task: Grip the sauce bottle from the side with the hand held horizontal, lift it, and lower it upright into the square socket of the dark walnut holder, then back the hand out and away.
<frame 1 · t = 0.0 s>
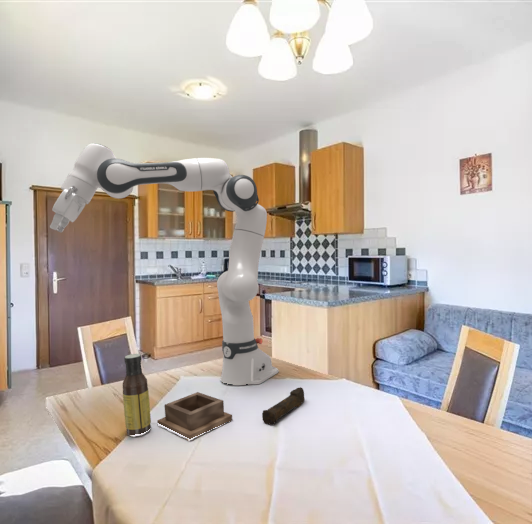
hand: (55, 230, 113), 54 cm above the table, tool tilted 30°, fingers open, 8 cm apart
socket holder: (195, 423, 99), on the table
sauce bottle: (138, 432, 95), on the table
hand tool: (285, 412, 104), on the table
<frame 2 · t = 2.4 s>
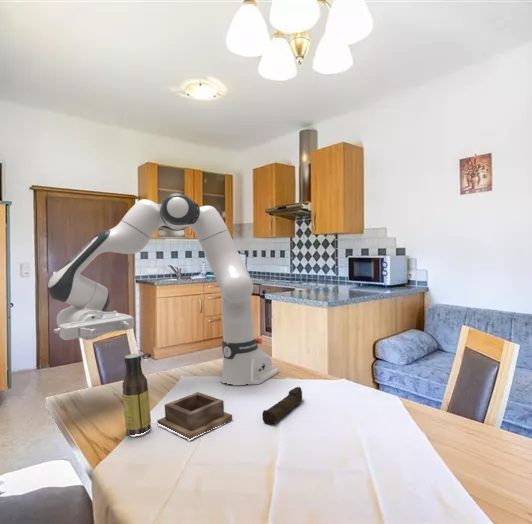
hand: (110, 329, 103), 25 cm above the table, tool horizontal, fingers open, 8 cm apart
nothing on the table moved.
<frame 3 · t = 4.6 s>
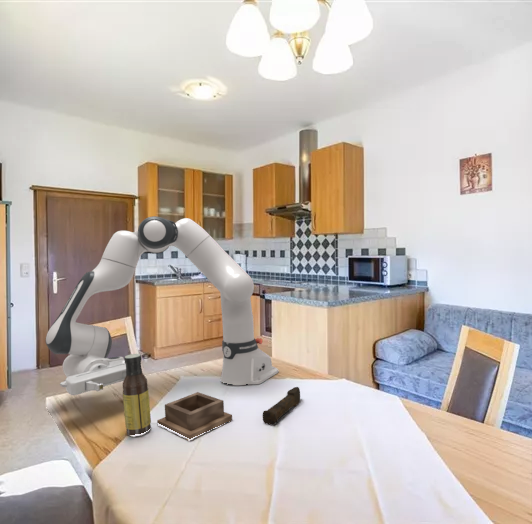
hand: (117, 382, 102), 11 cm above the table, tool horizontal, fingers open, 8 cm apart
nothing on the table moved.
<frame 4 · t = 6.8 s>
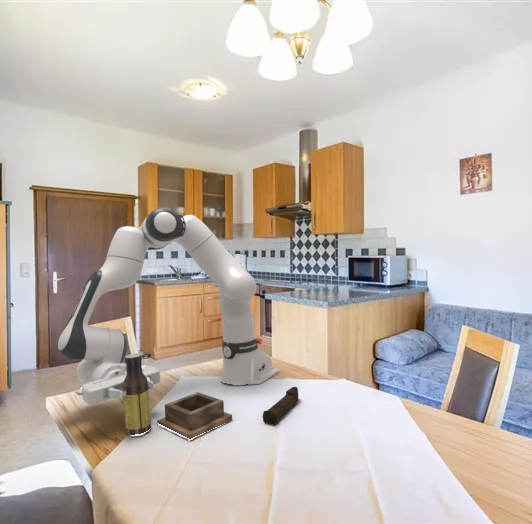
hand: (137, 390, 95), 11 cm above the table, tool horizontal, fingers closed on sauce bottle, 6 cm apart
sauce bottle: (138, 432, 95), on the table, touching gripper
everything else where it was.
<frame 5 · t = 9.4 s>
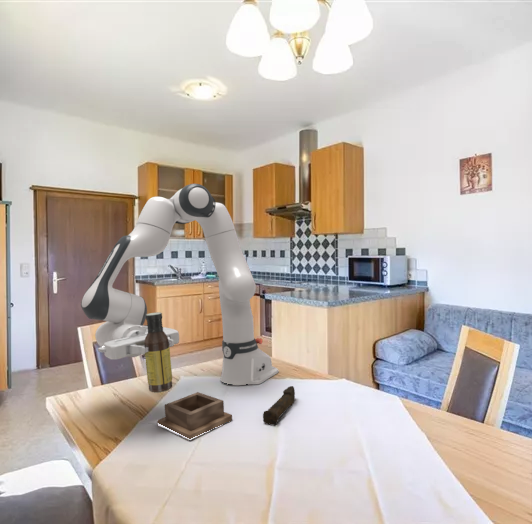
hand: (159, 346, 96), 21 cm above the table, tool horizontal, fingers closed on sauce bottle, 6 cm apart
sauce bottle: (160, 389, 97), point 10 cm above the table, touching gripper
when the fingers open (13 cm above the table, at t = 12.2 s): sauce bottle stays where it is, resting on socket holder.
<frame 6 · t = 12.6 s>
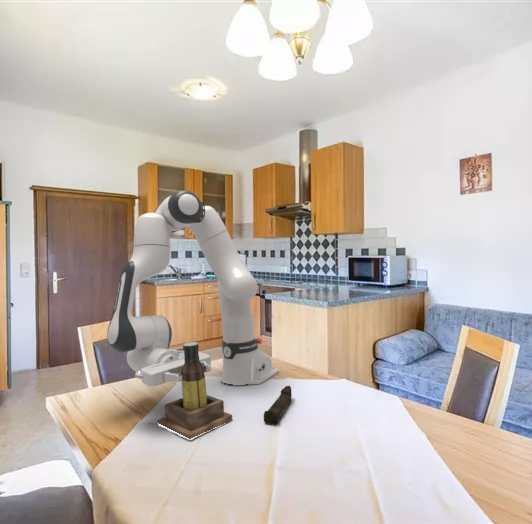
hand: (194, 373, 98), 13 cm above the table, tool horizontal, fingers open, 8 cm apart
sauce bottle: (195, 418, 99), point 1 cm above the table, touching socket holder
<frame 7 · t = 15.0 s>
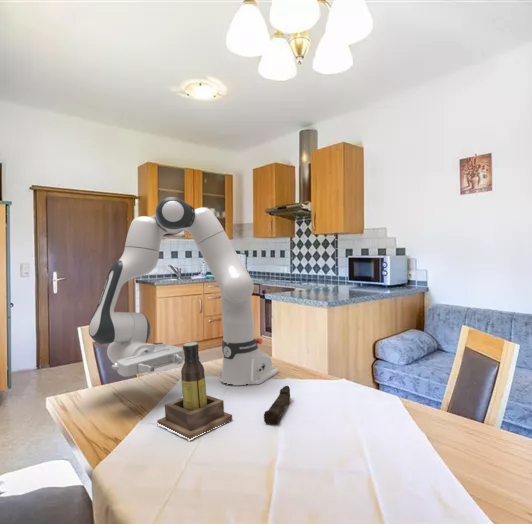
hand: (166, 364, 107), 14 cm above the table, tool horizontal, fingers open, 8 cm apart
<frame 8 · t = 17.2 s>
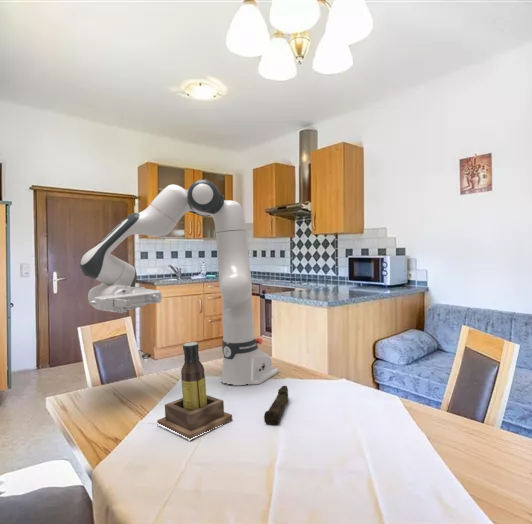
hand: (142, 301, 110), 32 cm above the table, tool horizontal, fingers open, 8 cm apart
at the end: sauce bottle 0.1 cm off-centre on the socket holder, point 1.3 cm above the socket holder's base; sauce bottle tilted 0°; the gripper is holding nothing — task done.
